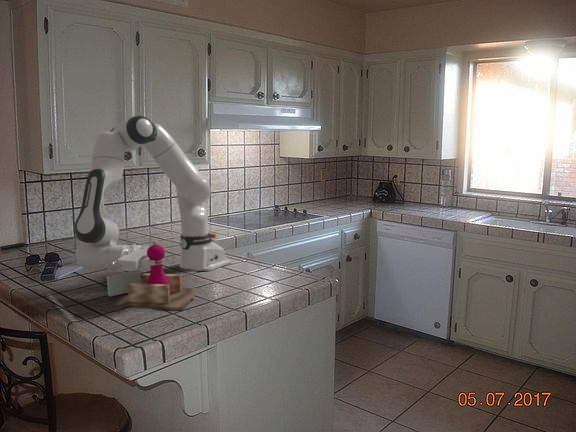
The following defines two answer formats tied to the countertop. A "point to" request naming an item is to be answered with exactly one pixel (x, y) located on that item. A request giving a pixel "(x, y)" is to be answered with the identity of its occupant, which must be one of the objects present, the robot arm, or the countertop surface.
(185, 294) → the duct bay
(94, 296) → the countertop surface
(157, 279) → the pepper mill
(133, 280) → the gate
